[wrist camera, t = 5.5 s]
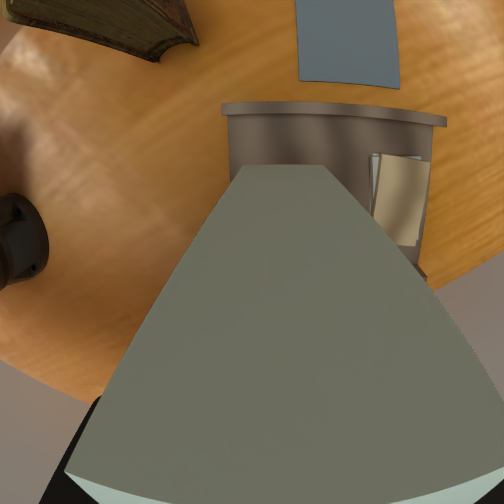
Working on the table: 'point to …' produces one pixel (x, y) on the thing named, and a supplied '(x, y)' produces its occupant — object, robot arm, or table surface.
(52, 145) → the table surface
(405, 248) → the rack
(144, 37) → the book
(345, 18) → the mat
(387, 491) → the upright sage slab
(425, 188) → the offcut oak
